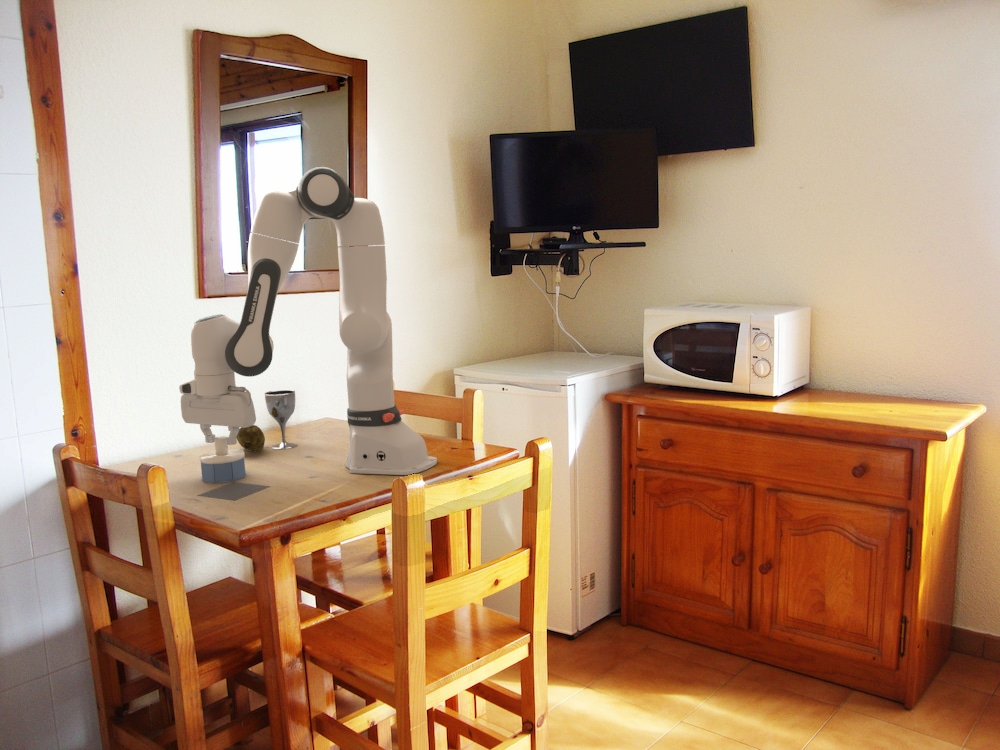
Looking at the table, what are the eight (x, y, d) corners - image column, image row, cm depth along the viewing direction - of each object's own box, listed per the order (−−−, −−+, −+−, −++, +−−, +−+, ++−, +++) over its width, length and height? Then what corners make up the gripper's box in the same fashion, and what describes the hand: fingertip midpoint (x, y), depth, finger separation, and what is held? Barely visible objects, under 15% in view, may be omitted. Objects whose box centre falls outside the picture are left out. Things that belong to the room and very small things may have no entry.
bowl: (254, 475, 198) (252, 455, 198) (224, 486, 190) (222, 465, 189) (224, 472, 203) (222, 452, 202) (194, 482, 194) (191, 461, 194)
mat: (270, 488, 187) (270, 486, 187) (234, 502, 177) (234, 500, 177) (234, 483, 192) (233, 481, 192) (197, 497, 182) (197, 495, 182)
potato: (273, 445, 229) (271, 417, 228) (262, 457, 216) (259, 427, 215) (243, 447, 229) (240, 418, 228) (229, 458, 216) (226, 428, 215)
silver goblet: (263, 448, 226) (258, 394, 223) (281, 442, 233) (276, 389, 231) (287, 450, 223) (283, 395, 220) (305, 443, 230) (300, 389, 228)
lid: (253, 454, 198) (251, 434, 197) (222, 465, 189) (220, 444, 188) (222, 451, 202) (220, 431, 202) (190, 462, 193) (188, 441, 193)
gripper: (259, 384, 191) (264, 443, 193) (194, 381, 200) (200, 437, 202) (239, 389, 186) (244, 449, 188) (173, 386, 195) (179, 443, 197)
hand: (221, 443), depth 195 cm, fingers open, 5 cm apart
